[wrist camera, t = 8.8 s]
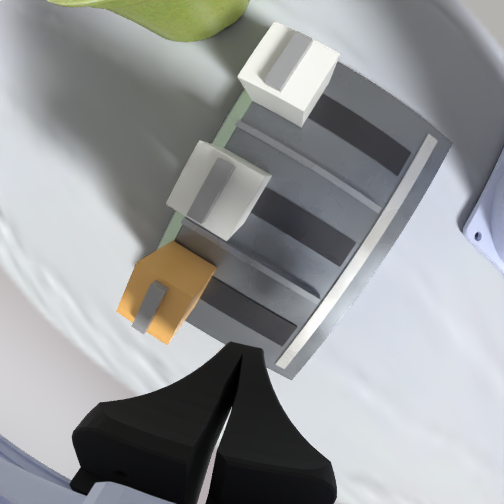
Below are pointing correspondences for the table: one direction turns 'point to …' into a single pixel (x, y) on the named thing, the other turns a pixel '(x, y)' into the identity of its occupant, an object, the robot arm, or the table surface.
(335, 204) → the panel
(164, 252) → the breaker orange
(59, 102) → the table surface
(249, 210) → the white breaker
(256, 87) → the white breaker
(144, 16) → the plant pot
